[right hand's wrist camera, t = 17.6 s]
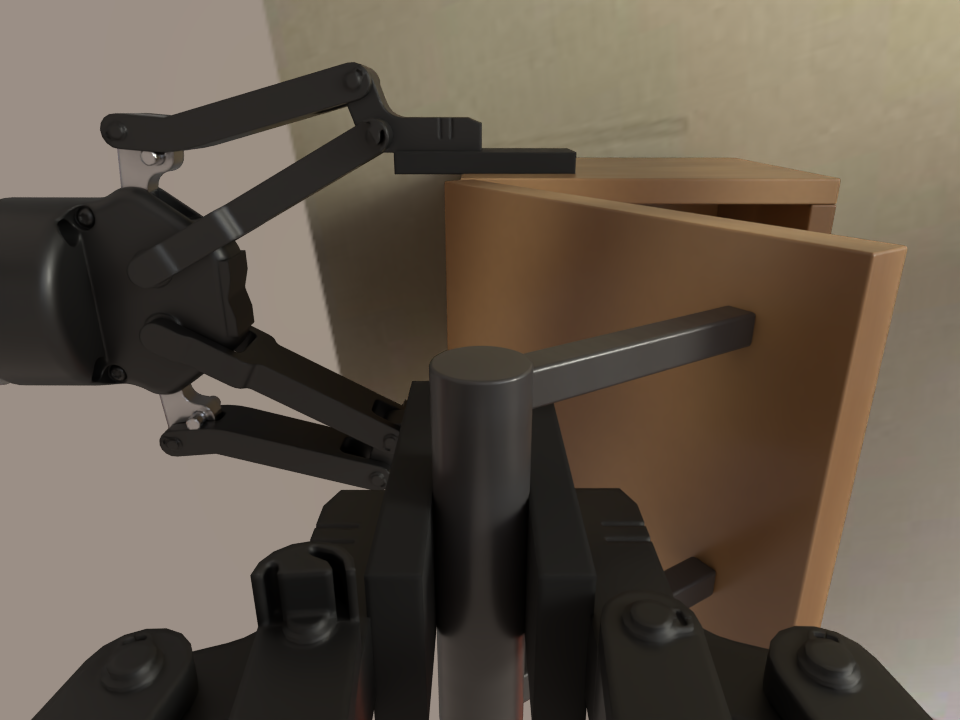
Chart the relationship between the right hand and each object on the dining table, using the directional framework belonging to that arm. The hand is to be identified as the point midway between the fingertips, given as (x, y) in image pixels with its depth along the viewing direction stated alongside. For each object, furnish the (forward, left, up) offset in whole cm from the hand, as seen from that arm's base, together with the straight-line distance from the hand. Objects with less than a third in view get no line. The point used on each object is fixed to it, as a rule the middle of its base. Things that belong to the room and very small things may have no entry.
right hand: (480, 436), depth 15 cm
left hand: (-1, +3, -13) cm, 13 cm away
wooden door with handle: (-1, +3, -4) cm, 5 cm away
